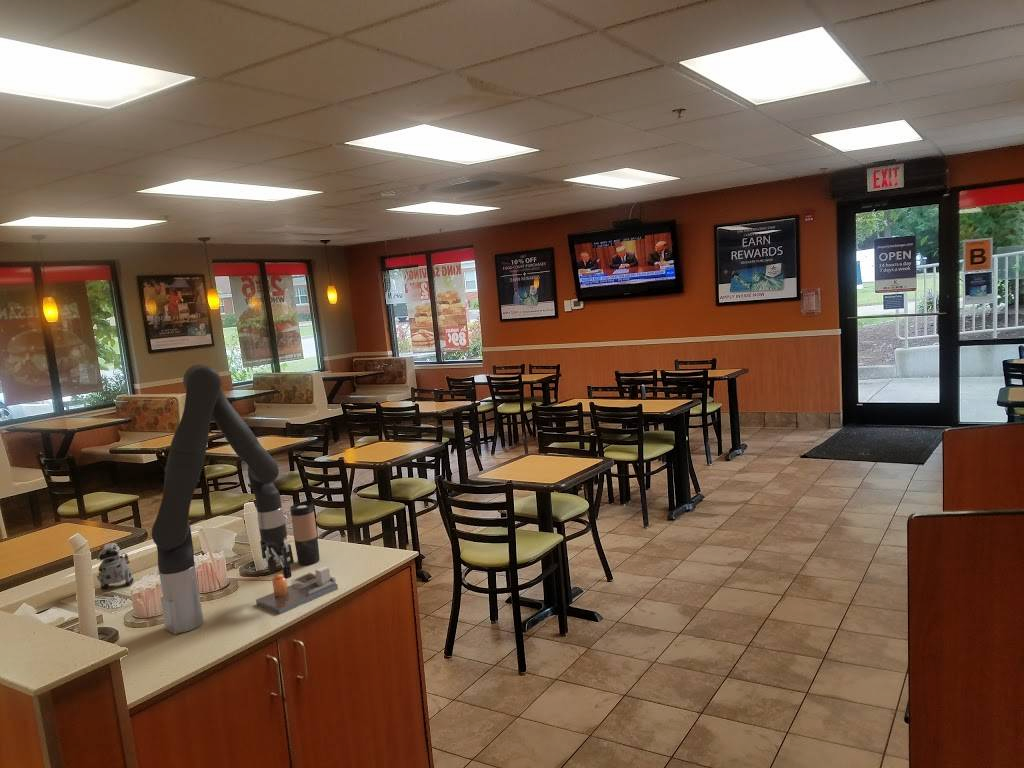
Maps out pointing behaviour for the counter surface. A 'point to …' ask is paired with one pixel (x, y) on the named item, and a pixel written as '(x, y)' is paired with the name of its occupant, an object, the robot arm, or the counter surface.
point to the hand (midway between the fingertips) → (280, 575)
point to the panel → (297, 594)
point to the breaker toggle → (322, 575)
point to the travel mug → (305, 533)
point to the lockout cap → (280, 585)
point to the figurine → (113, 566)
